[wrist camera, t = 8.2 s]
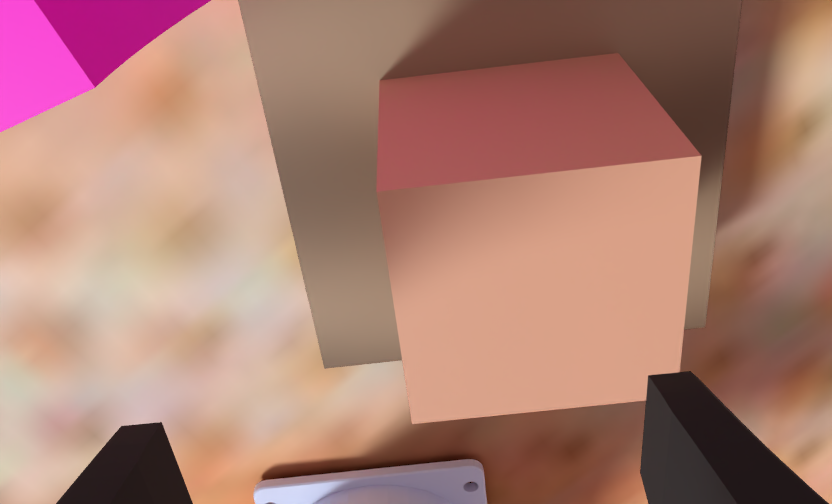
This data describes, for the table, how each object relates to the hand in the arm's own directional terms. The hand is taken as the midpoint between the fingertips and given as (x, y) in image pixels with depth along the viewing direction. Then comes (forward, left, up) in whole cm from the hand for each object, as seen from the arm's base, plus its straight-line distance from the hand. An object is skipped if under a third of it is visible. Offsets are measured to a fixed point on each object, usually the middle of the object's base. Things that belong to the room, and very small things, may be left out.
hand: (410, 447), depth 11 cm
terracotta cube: (+1, -2, -7) cm, 8 cm away
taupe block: (+1, -2, -10) cm, 11 cm away
